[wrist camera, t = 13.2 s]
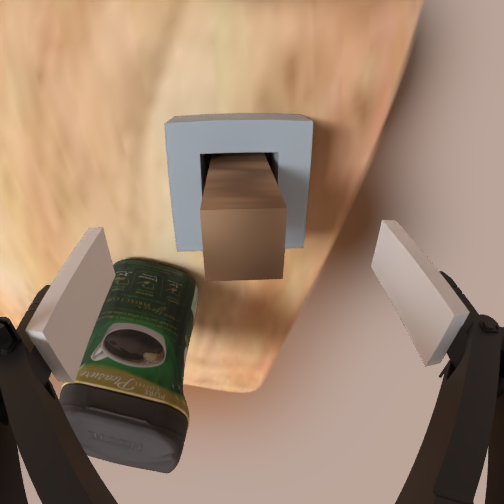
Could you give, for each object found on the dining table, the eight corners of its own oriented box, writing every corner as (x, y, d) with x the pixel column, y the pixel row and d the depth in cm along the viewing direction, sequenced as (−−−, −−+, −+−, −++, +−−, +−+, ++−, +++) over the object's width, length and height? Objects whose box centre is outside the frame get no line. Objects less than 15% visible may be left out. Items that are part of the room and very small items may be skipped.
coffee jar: (108, 306, 32) (58, 457, 16) (111, 247, 28) (33, 415, 13) (191, 326, 34) (178, 486, 18) (207, 270, 30) (195, 457, 15)
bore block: (183, 228, 28) (177, 251, 24) (174, 116, 23) (164, 123, 19) (294, 225, 28) (303, 247, 25) (300, 114, 23) (313, 121, 20)
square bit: (214, 195, 26) (205, 281, 16) (212, 150, 24) (199, 210, 14) (261, 194, 27) (282, 278, 16) (262, 149, 25) (287, 208, 14)
